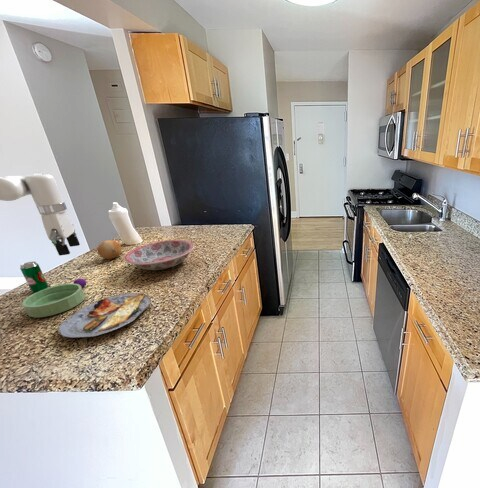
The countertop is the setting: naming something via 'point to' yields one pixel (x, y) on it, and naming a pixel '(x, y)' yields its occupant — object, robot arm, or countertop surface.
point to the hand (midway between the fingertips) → (70, 250)
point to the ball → (80, 282)
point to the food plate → (104, 315)
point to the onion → (109, 249)
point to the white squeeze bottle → (123, 225)
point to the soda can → (34, 276)
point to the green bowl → (53, 300)
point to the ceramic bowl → (160, 254)
